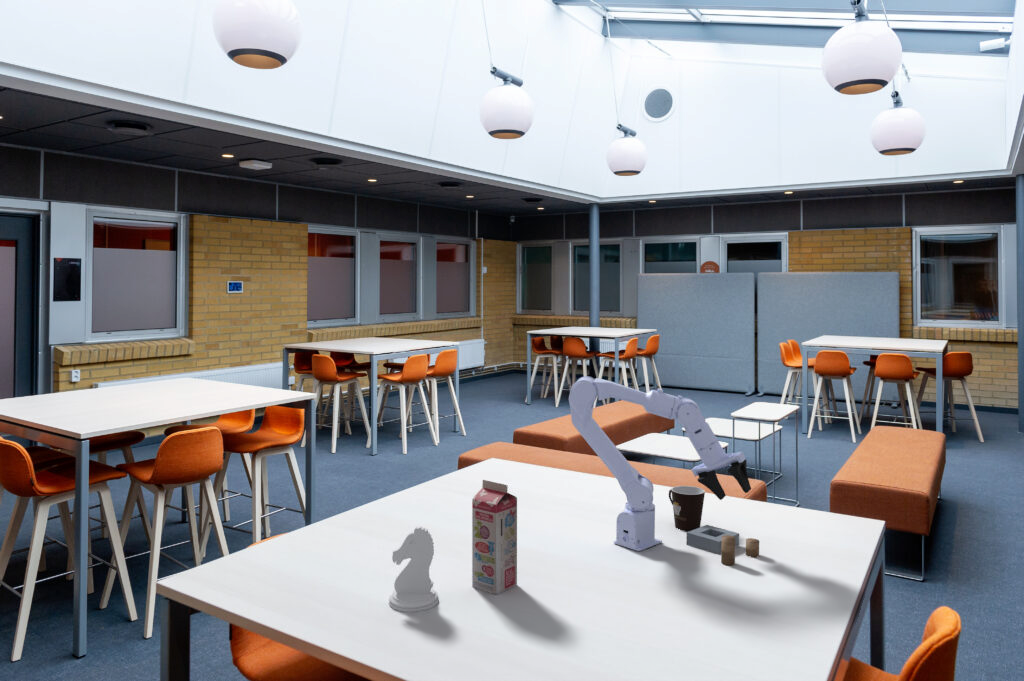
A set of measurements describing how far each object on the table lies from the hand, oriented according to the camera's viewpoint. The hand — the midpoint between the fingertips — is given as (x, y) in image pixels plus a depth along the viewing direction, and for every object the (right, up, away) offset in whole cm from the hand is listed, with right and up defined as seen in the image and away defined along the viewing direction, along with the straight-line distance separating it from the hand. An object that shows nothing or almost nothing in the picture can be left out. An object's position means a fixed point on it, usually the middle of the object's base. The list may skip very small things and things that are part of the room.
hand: (735, 494), depth 171 cm
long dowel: (-4, -14, -8) cm, 17 cm away
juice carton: (-57, -15, -21) cm, 63 cm away
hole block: (-4, -13, +4) cm, 14 cm away
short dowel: (+3, -14, -3) cm, 14 cm away
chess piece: (-73, -15, -29) cm, 80 cm away
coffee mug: (-7, -13, +19) cm, 24 cm away
